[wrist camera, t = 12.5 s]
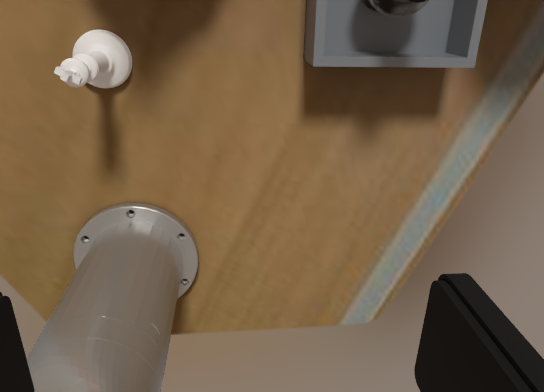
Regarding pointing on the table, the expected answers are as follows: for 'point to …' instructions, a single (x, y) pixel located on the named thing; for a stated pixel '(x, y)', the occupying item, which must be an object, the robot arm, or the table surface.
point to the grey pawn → (395, 7)
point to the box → (393, 35)
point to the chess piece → (97, 61)
